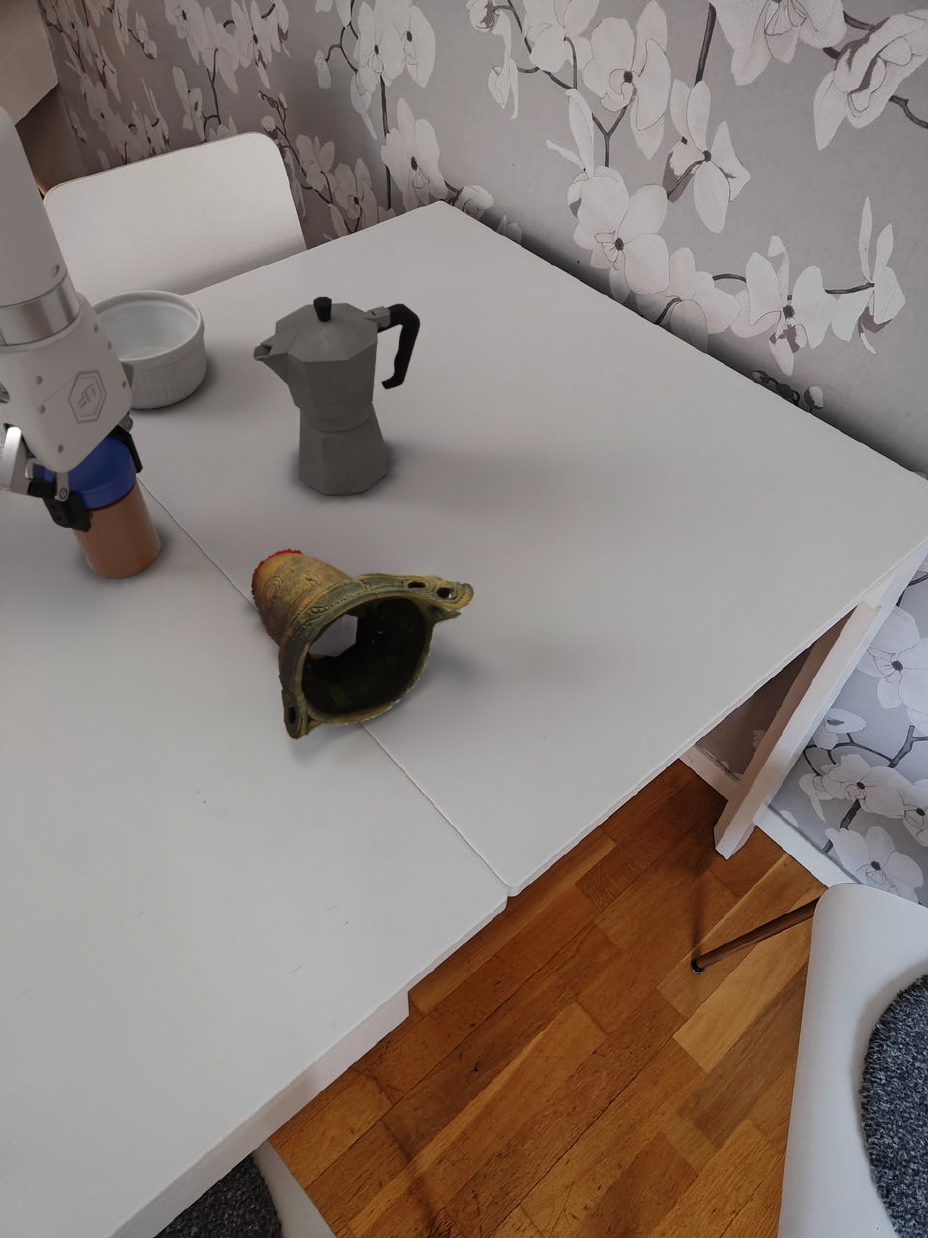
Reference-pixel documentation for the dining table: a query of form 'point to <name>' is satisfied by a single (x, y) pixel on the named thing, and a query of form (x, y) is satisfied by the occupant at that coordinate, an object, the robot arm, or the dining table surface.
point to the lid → (102, 474)
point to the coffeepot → (338, 387)
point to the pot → (385, 635)
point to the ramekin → (156, 343)
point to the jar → (120, 536)
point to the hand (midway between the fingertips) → (100, 495)
